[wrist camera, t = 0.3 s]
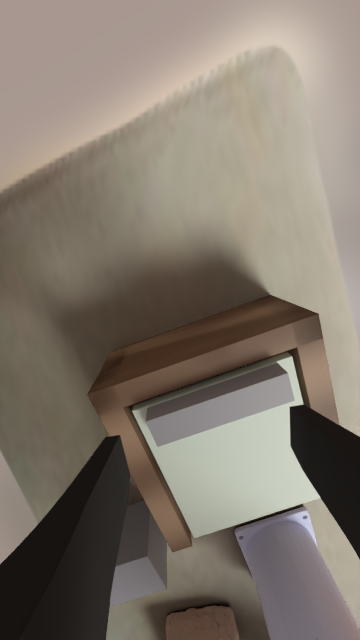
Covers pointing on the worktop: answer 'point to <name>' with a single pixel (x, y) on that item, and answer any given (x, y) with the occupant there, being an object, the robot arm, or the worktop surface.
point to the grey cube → (139, 557)
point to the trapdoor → (229, 445)
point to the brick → (202, 624)
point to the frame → (198, 364)
